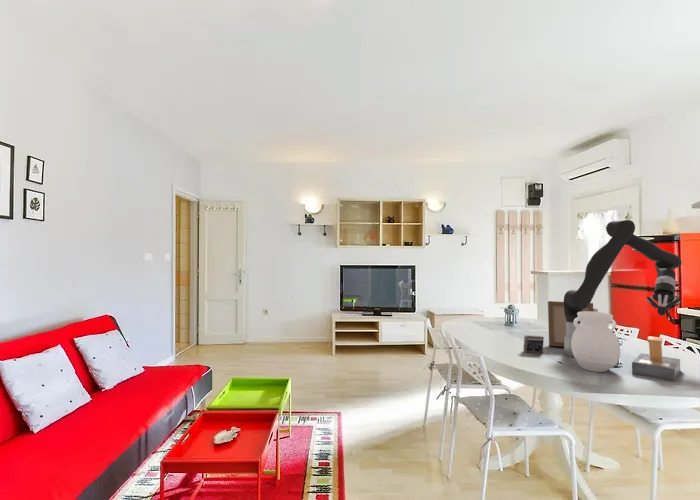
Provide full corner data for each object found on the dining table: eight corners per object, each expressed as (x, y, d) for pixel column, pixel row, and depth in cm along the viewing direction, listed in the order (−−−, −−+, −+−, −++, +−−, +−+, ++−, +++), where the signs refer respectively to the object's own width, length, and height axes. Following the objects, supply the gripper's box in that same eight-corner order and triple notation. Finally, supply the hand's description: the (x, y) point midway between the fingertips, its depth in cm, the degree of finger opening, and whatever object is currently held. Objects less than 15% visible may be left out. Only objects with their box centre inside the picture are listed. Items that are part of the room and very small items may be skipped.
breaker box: (632, 373, 164) (632, 361, 164) (640, 363, 179) (640, 352, 179) (674, 381, 154) (674, 368, 154) (680, 370, 169) (680, 358, 169)
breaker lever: (649, 360, 167) (647, 339, 164) (650, 356, 169) (648, 336, 166) (662, 362, 164) (661, 341, 161) (663, 358, 166) (662, 337, 163)
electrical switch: (542, 352, 200) (542, 334, 199) (545, 355, 195) (545, 337, 194) (523, 351, 202) (523, 334, 201) (525, 354, 197) (525, 337, 196)
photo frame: (595, 351, 203) (595, 304, 203) (549, 347, 211) (549, 302, 212) (590, 345, 216) (589, 301, 217) (547, 342, 225) (547, 299, 226)
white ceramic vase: (582, 374, 162) (582, 315, 162) (564, 362, 180) (564, 309, 181) (630, 376, 159) (629, 317, 160) (606, 364, 178) (606, 310, 178)
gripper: (646, 281, 189) (642, 307, 181) (682, 282, 180) (679, 310, 171) (648, 291, 193) (644, 317, 184) (683, 293, 184) (680, 321, 175)
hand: (661, 314), depth 178 cm, fingers closed
